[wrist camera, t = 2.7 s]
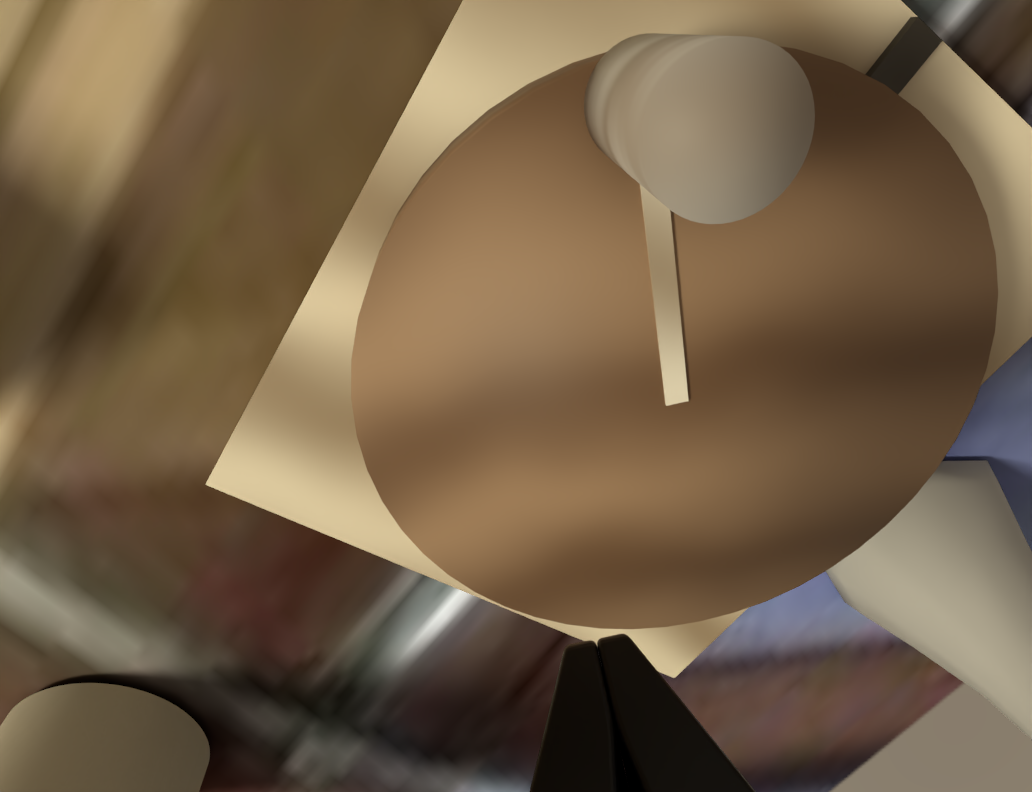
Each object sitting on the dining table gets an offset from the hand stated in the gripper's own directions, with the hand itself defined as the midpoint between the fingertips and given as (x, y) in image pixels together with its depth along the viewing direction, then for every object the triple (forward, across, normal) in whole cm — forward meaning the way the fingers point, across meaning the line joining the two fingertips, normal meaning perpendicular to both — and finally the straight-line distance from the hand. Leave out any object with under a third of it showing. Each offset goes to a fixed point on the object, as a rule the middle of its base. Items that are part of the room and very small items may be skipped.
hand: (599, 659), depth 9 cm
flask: (+13, -13, +13) cm, 22 cm away
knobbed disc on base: (+11, -3, +2) cm, 12 cm away
